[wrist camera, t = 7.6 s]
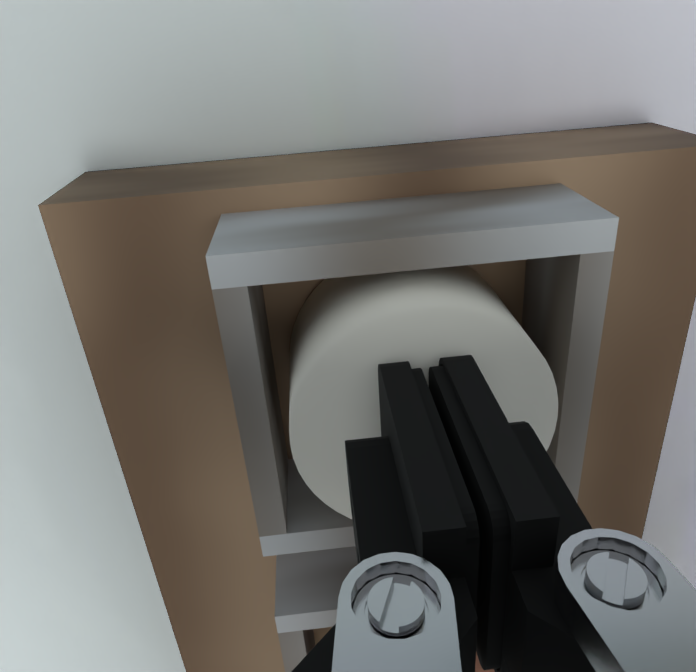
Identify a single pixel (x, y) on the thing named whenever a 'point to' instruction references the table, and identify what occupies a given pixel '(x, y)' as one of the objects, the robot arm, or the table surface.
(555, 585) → the robot arm
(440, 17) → the table surface
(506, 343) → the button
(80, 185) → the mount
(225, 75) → the table surface
